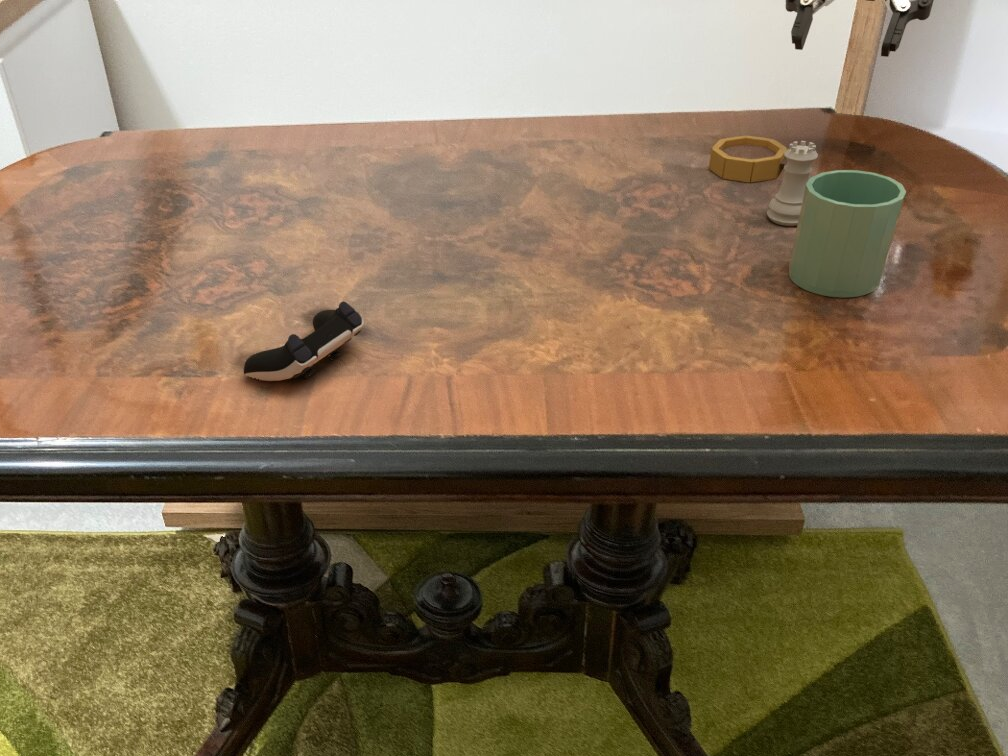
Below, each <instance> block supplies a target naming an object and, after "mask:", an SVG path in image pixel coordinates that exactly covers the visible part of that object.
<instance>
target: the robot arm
mask: <svg viewBox="0 0 1008 756" xmlns="http://www.w3.org/2000/svg"><path fill="white" fill-rule="evenodd" d="M865 1H868V2H875V0H865ZM882 1H883V3H884V5H885V7H886V9H887V10H888V11H889V12H890V13H891V17H890V21H889V23H888V26H887V29H886V32H885V34H884V38H883V41H882V44H881V49H880V57H885V58H886V57H887V58H888V57H889V56H890V53H891V52H894V53H895V52H896V51H897V50H898V49H899V47H900V45H901V42H902V39H903V37H904V33H905V31H906V27H907V25H908V24H909V22H911V21H914V20H919V21H925V20H928V18H929V17H930V15H931V12H932V8H933V5H934V0H911V1H910V0H882ZM833 2H835V0H785V10H786V11H787V12H788V13H791V12H794V13H796V16H795V19H794V22H793V25H792V28H791V31H790V35H791V36H790V37H791V44H794V49H795V50H797V51H798V50H799V51H803V49H804V47H805V43H806V41H807V38H808V35H809V32H810V29H811V26H812V23H813V20H814V16H813V15H815V14H816V13H817V12H818V11H819V10H821V9H822V8H823V7H828V6H830V5H831V4H832V3H833Z"/></svg>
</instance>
